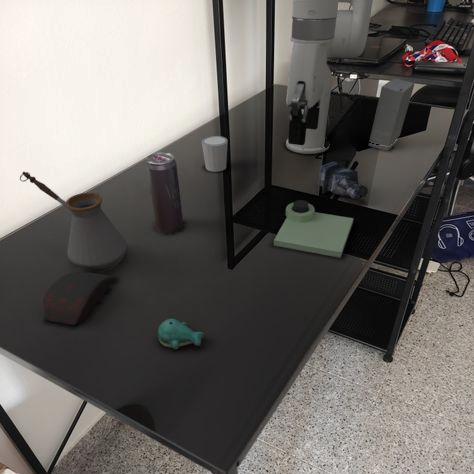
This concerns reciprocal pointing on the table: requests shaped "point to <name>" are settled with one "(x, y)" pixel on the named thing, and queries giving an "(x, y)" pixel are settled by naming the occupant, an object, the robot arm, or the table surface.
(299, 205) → the button
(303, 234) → the scale
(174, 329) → the whale figurine
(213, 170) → the grey cup
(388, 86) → the cosmetic box
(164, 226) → the beverage can
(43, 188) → the coffee pot
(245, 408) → the table surface
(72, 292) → the computer mouse
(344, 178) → the dark statue fragment
